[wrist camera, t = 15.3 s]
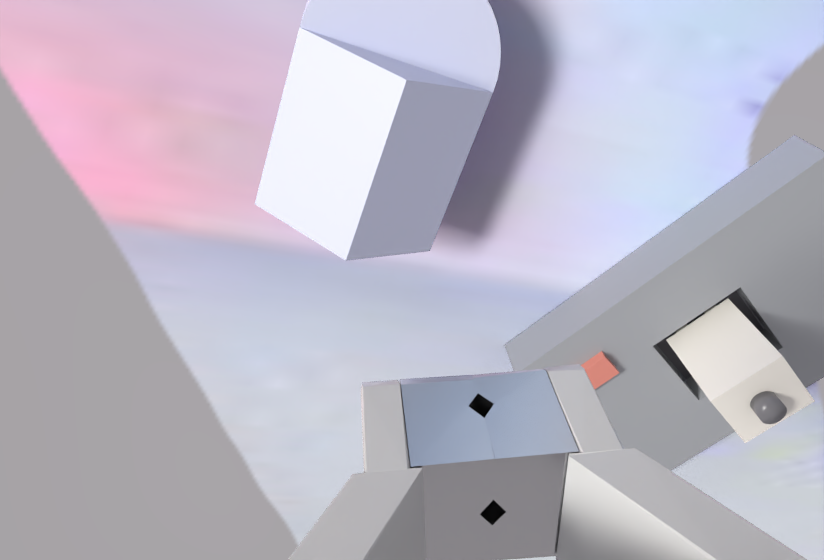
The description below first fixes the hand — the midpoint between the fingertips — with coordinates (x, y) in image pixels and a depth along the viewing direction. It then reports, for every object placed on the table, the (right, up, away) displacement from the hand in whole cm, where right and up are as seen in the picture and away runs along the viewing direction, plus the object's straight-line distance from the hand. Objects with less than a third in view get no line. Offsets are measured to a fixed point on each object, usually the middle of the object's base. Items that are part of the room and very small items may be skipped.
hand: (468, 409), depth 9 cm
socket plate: (+17, -1, +33) cm, 37 cm away
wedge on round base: (-2, +12, +24) cm, 27 cm away
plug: (+17, -1, +32) cm, 37 cm away
